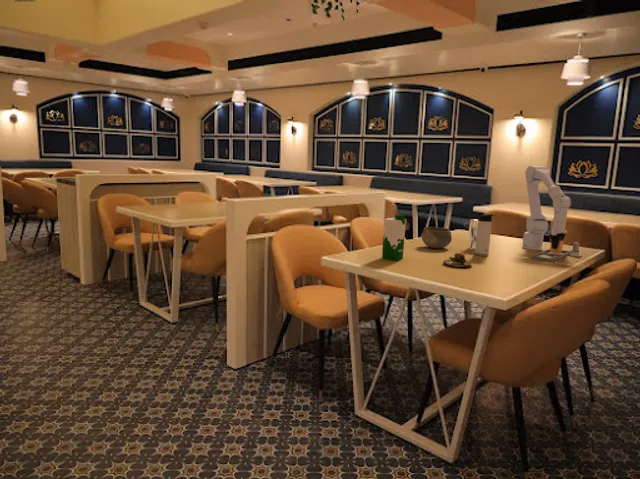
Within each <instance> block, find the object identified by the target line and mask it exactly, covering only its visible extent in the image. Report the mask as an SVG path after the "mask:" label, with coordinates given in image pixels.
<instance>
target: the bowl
mask: <svg viewBox="0 0 640 479" xmlns="http://www.w3.org/2000/svg"><path fill="white" fill-rule="evenodd" d="M420 237H421V240H422V242H423V243H424V245H425V246H426V247H428V248H431V249H439V250H440V249H444V248H446V247H447V246H448V245H450V243H451V242H452V241H453V239H452V238H453V236H452V232H451V230H450V229H449V228H446V227H437V226H436V227H435V226H426V227H424V228H423V230H422V232H421V234H420Z"/></svg>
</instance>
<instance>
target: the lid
mask: <svg viewBox="0 0 640 479" xmlns="http://www.w3.org/2000/svg"><path fill="white" fill-rule="evenodd" d="M561 257H562V256H547V254H542V255H541V253H540V252H538V253H535V254H533V255H531V260H535V261H540V262H548V263H556V262H557V261H558V260H560V259H562V258H561Z"/></svg>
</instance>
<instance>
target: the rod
mask: <svg viewBox="0 0 640 479" xmlns="http://www.w3.org/2000/svg"><path fill="white" fill-rule="evenodd" d="M572 250H573V251H576V252H578V251H580V242H576V241H575V242H573V246H572Z"/></svg>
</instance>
